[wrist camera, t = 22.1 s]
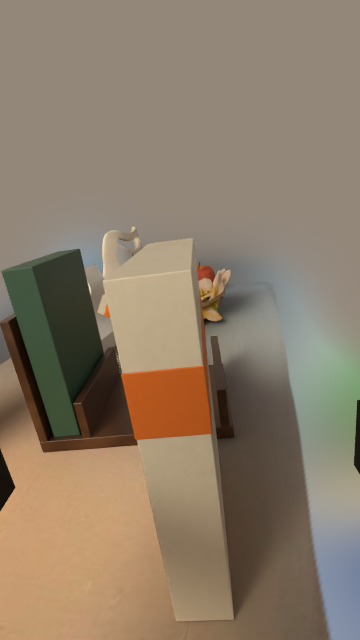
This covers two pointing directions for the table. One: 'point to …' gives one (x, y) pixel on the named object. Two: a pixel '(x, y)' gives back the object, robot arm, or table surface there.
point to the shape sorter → (116, 257)
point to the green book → (57, 331)
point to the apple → (205, 272)
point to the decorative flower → (213, 294)
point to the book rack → (101, 399)
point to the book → (174, 420)
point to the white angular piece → (96, 294)
